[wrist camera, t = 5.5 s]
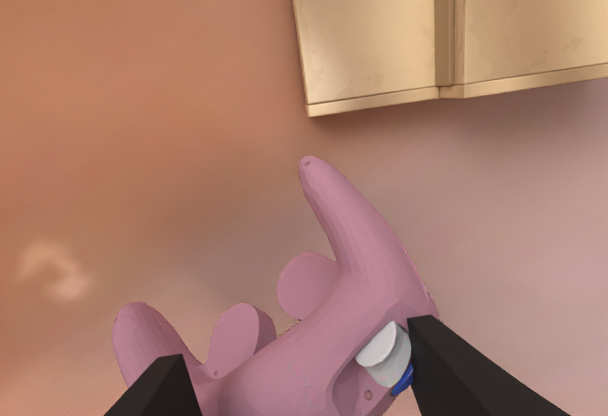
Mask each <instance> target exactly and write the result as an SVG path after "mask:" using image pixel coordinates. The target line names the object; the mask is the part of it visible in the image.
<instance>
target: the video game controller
mask: <svg viewBox="0 0 608 416" xmlns="http://www.w3.org/2000/svg"><path fill="white" fill-rule="evenodd" d="M299 179H300V182H301V185H302V188H303V191H304V194H305V197H306V199H307V201H308V202H309V204H310V206H311V208H312V209H313V211H314V213H315V215H316V217H317V218H318V220H319V222H320V224H321V225H322V227H323V229H324V231H325V232H326V234H327V236H328V239H329V241H330V244H331V247H332V249H333V252H334V254H335V257H336V260H337V262H335V261H332V260H330V259H328V258H326V257H325V256H323V255H321V254H319V253H316V252H312V251H310V252H304V253H302V254H299V255H297V256H296V257H295V258H293V259H292V260H291V261H290V262H289V263H288V264H287V265H286V267H285V268H284V270H283V271H282V273H281V274H280V277H279V279H278V283H277V299H278V302H279V304H280V306H281V308H282V309H283V310H284V311H285V312H286V313H287V314H288V315H289V316H291V317H293V318H296V319H297V320H299V321H300V322H299V323H297V324H296V325H295V326H293V327H292V328H291V329H289V330H288V331H287V332H285V333H284V334H283V335H281V336H280V337H278V338H277V339H276V331H275V326H274V323H273V321H272V320H271V318H270V317H269V316H268V315H267V314H266V313H265V312H263V311H261V310H259V309H258V308H256V307H254V306H251V305H249V304H247V303H239V304H236V305H234V306H232V307H230V308H228V309H227V310H226V311H225V312H224V313H223V314H222V315H221V316H220V318H219V319H218V321H217V323H216V325H215V327H214V330H213V333H212V337H211V342H210V348H209V353H208V357H207V360H206V363H205V364H202V363H201V362H199V361H198V360H197V359H196V358H195V357H194V356H193V355H192V353H191V352H190V351H189V350H188V348H187V347H186V345H185V344H184V342H183V341H182V339H181V338H180V336H179V335H178V333H177V332H176V330H175V329H174V328H173V327H172V326H171V324H170V323H169V322H168V321H167V320H166V319H165V318H164V317H163V316H162V315H161V314H160V313H159V312H158V311H157V310H155V309H154V308H152V307H150V306H148V305H147V304H146V303H143V302H132V303H129V304H126V305H125V306H123V307H122V308H121V309H120V310H119V312H118V314H117V316H116V318H115V319H114V323H113V327H112V344H113V349H114V353H115V356H116V359H117V362H118V365H119V367H120V370H121V373H122V375H123V378H124V380H125V382H126V385H127V387H128V389H129V387H130V386H131V385H132V384H133V383H134V382H135V381H136V380H137V379H138V378H139V377H140V375H141V374H142V373H143V372H144V371H145V370H146V369H147V368H148V367H149V366H150V365H151V364H152V363H153V362H154V361H155V360H156V359H157V358H158V357H162V356H168V355H175V354H181V353H182V354H183V357H184V360H185V363H186V366H187V369H188V372H189V375H190V378H191V382H192V385H193V388H194V391H195V394H196V397H197V400H198V403H199V406H200V410H201V413H202V416H382V415H383V414H384V413H385V412H386V410H387V409H388V408H389V407H390V405H391V404H392V403H393V401H394V400H395V399H396V397H397V396H398V395H399V394H400V393H401V392H402V391H404V390H405V389H407V388H408V386H409V385H410V384H411V383H412V382H413V366H412V363H411V362H412V351H411V343H410V339H409V336H408V333H409V330H408V324H407V318H411V317H417V316H424V315H430V314H431V315H433V316H434V317H435V318H437V319H438V320H439V321H440V319H439V315H438V311H437V308H436V306H435V303H434V301H433V299H432V298H431V296H430V294H429V293H428V291H427V290H426V288H425V286H424V284H423V282H422V280H421V278H420V276H419V274H418V272H417V270H416V268H415V266H414V264H413V262H412V260H411V258H410V256H409V255H408V253H407V251H406V250H405V248H404V246H403V245H402V243H401V241H400V240H399V239H398V237H397V236H396V234H395V233H394V232H393V230H392V229H391V228H390V226H389V225H388V223H387V222H386V221H385V220H384V219H383V217H382V216H381V215H380V214H379V213H378V212H377V211H376V210H375V208H374V207H373V206H372V205H371V204H370V203H369V202H368V201H367V200H366V199H365V198H364V197H363V195H362V194H361V193H360V192H359V191H358V190H357V189H356V188H355V187H354V186H353V185H352V184H351V183H350V182H349V181H348V180H347V179H346V177H345V176H344V175H342V174H341V173H340V172H339V171H338V170H337V169H336V168H334V167H333V166H332V165H330V164H329V163H328V162H326V161H324V160H322V159H320V158H317V157H313V156H306V157H304V158H302V160H301V161H300V164H299ZM407 332H408V333H407Z"/></svg>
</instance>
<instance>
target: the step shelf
mask: <svg viewBox="0 0 608 416" xmlns="http://www.w3.org/2000/svg"><path fill="white" fill-rule="evenodd" d="M292 1H293V8H294V16H295V24H296V31H297V39H298V46H299V54H300V62H301V69H302V77H303V84H304V92H305V99H306V105H305V108H306V115H307V116H308V117H317V116H323V115H330V114H337V113H344V112H350V111H357V110H364V109H370V108H377V107H384V106H390V105H397V104H404V103H411V102H417V101H424V100H431V99H437V98H459V99H466V98H473V97H479V96H486V95H493V94H500V93H506V92H513V91H520V90H526V89H533V88H540V87H546V86H553V85H560V84H567V83H573V82H580V81H587V80H593V79H600V78H607V77H608V0H292Z"/></svg>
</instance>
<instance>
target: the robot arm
mask: <svg viewBox="0 0 608 416" xmlns="http://www.w3.org/2000/svg"><path fill="white" fill-rule="evenodd" d="M407 324H408V330H409V333H408V332H407V333H408V336H409V339H410V343H411V351H412V362H411V363H412V366H413V382H412V383H411V387H412V390H413V393H414V395H415V398H416V401H417V404H418V407H419V409H420V412H421V415H422V416H570V415H569V414H567V413H566V412H564V411H563V410H561V409H560V408H558V407H557V406H555V405H554V404H552V403H551V402H549V401H548V400H546V399H545V398H543V397H542V396H540V395H539V394H537V393H536V392H534V391H533V390H531V389H530V388H528V387H527V386H526V385H524V384H523V383H521V382H520V381H519V380H517V379H516V378H514V377H513V376H512V375H510V374H509V373H508V372H506V371H505V370H503V369H502V368H501V367H499V366H498V365H497V364H495V363H494V362H492V361H491V360H490V359H488V358H487V357H486V356H484V355H483V354H482V353H480V352H479V351H478V350H476V349H475V348H474V347H473V346H471V345H470V344H469V343H467V342H466V341H465V340H464V339H462V338H461V337H460V336H458V335H457V334H456V333H455V332H453V331H452V330H451V329H449V328H448V327H447V326H446V325H444V324H443V323H442V322H440V321H439V320H438V319H437V318H435V317H434V316H433V315H431V314H430V315H424V316H417V317H411V318H407ZM104 416H202V413H201V410H200V406H199V403H198V400H197V397H196V394H195V391H194V388H193V385H192V382H191V378H190V375H189V372H188V369H187V366H186V363H185V360H184V357H183V354H182V353H181V354H175V355H168V356H162V357H158V358H157V359H156V360H155V361H154V362H153V363H152V364H151V365H150V366H149V367H148V368H147V369H146V370H145V371H144V372H143V373H142V374H141V375H140V377H139V378H138V379H137V380H136V381H135V382H134V383H133V384H132V385H131V386H130V387H129V389H128V390H127V391H126V392H125V393H124V394H123V395H122V396H121V397H120V398H119V400H118V401H117V402H116V403H115V404H114V405H113V406H112V407H111V408H110V409H109V410H108V412H107V413H106V414H105V415H104Z"/></svg>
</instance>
